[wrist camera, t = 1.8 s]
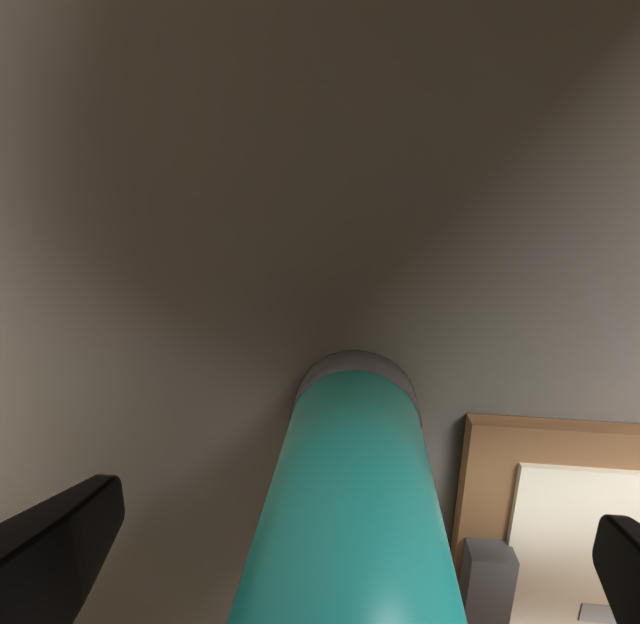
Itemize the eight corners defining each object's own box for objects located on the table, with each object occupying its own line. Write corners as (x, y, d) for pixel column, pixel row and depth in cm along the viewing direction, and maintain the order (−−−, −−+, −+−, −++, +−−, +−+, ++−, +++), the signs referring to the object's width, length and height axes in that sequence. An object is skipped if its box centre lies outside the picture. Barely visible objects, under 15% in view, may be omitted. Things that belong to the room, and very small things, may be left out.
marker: (413, 463, 12) (558, 1273, 3) (294, 455, 13) (110, 1171, 3) (423, 352, 11) (670, 1040, 2) (294, 345, 12) (39, 926, 2)
